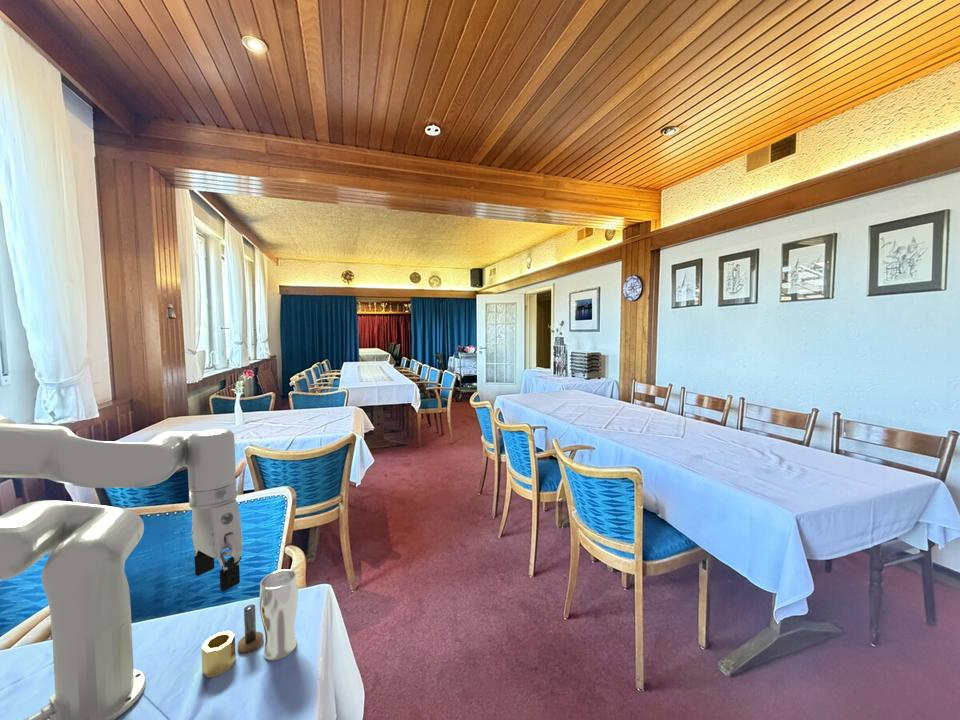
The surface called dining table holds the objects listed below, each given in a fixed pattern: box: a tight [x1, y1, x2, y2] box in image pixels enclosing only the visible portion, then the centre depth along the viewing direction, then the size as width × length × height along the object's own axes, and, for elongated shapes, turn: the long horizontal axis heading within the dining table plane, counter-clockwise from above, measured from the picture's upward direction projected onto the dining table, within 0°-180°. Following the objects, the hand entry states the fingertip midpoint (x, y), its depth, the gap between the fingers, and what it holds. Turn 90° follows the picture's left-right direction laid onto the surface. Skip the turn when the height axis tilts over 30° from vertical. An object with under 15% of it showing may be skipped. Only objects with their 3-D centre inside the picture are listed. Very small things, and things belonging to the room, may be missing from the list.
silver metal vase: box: [259, 568, 299, 662], centre depth 78 cm, size 7×7×15 cm
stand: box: [237, 604, 264, 654], centre depth 79 cm, size 5×5×8 cm
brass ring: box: [201, 630, 237, 679], centre depth 74 cm, size 5×5×5 cm
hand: (217, 579), depth 73 cm, fingers open, 9 cm apart
